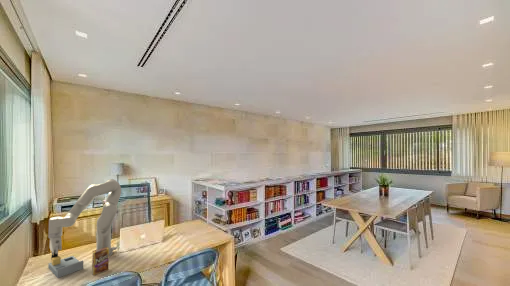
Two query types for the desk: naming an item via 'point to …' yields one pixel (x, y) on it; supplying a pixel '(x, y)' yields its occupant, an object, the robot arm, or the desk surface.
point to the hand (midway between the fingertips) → (54, 259)
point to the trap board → (66, 266)
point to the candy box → (100, 260)
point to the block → (56, 260)
